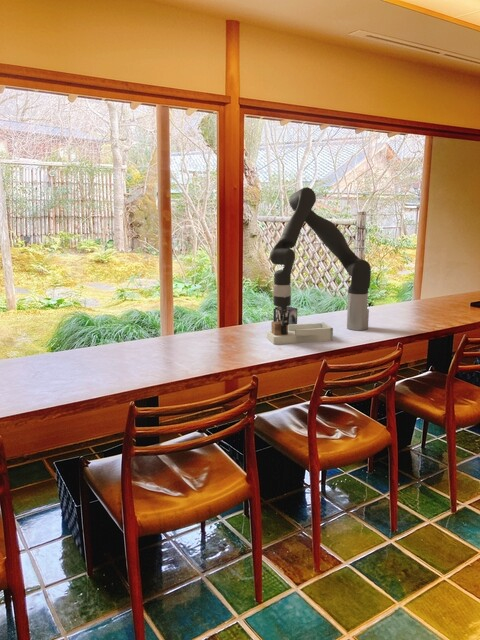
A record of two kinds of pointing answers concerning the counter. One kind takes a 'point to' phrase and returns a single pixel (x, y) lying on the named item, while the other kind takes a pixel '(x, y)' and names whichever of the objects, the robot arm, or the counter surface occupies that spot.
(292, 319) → the small box
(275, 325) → the block
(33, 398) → the counter surface
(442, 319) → the counter surface
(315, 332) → the channel
